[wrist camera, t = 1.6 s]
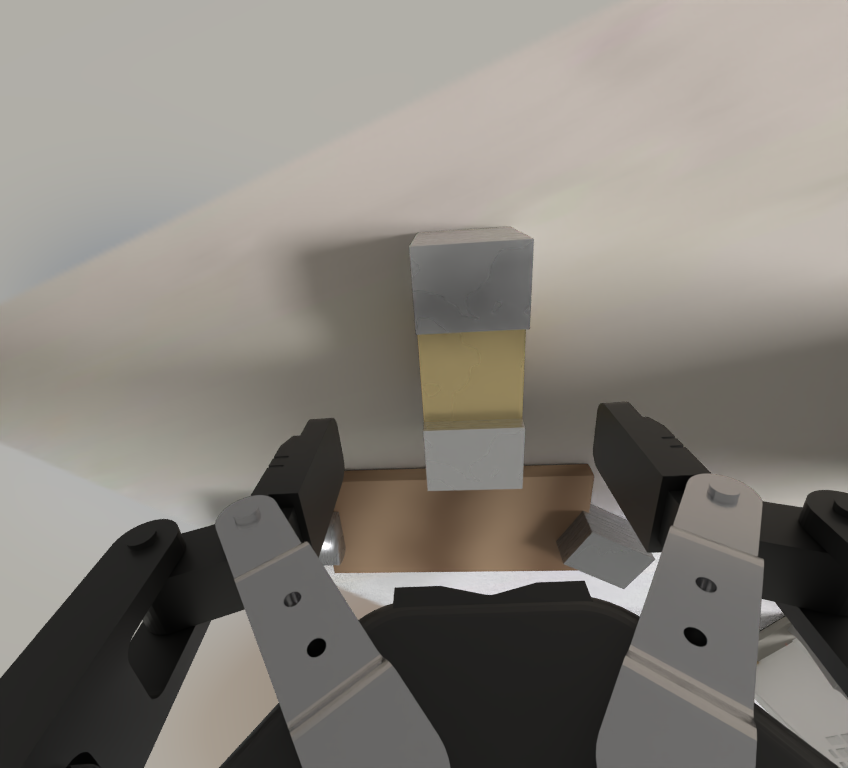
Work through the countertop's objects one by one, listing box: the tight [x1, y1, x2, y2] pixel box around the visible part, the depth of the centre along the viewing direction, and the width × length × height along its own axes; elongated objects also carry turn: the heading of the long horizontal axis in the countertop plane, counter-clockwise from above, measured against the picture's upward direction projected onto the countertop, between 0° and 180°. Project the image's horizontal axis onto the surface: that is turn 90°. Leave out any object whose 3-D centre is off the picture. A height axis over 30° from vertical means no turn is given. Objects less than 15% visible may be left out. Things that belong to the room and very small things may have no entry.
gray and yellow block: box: [409, 227, 534, 491], centre depth 18 cm, size 4×10×5 cm, turn 4°
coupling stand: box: [319, 464, 655, 589], centre depth 23 cm, size 21×7×4 cm, turn 94°
